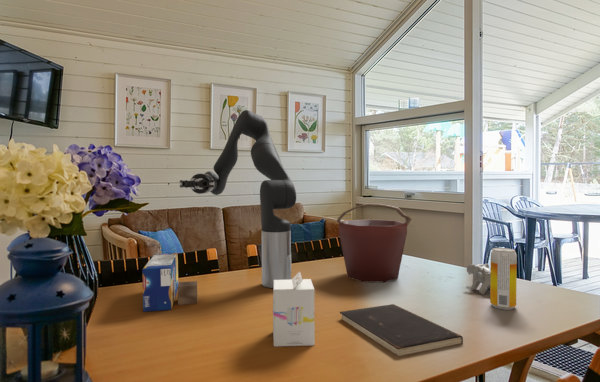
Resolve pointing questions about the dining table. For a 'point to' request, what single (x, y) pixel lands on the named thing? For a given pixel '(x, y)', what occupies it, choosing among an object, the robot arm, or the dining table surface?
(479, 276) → the gray elephant figurine
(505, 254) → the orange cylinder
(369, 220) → the bucket
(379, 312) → the hardcover book
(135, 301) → the dining table surface
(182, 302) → the walnut block
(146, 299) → the beverage box
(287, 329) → the ink box
